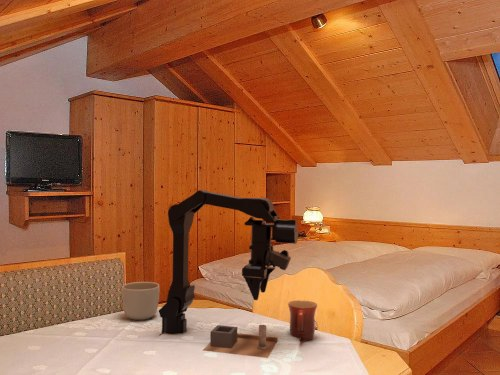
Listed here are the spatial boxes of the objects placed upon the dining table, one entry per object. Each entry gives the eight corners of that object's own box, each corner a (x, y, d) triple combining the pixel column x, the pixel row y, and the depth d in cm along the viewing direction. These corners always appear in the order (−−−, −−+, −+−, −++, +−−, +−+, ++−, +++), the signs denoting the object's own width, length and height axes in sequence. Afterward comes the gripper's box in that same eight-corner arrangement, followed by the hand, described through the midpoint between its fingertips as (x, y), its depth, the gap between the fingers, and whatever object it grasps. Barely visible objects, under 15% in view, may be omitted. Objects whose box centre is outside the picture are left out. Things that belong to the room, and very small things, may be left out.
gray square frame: (210, 346, 124) (210, 331, 124) (217, 338, 129) (217, 325, 129) (231, 348, 122) (231, 333, 122) (237, 341, 128) (237, 327, 128)
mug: (289, 332, 140) (289, 299, 140) (317, 334, 138) (318, 301, 138) (284, 345, 128) (284, 309, 128) (315, 348, 127) (315, 311, 127)
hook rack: (202, 354, 120) (202, 327, 120) (217, 338, 133) (218, 314, 133) (267, 362, 116) (268, 334, 116) (277, 345, 129) (277, 320, 128)
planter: (122, 313, 158) (122, 282, 158) (158, 311, 161) (158, 281, 161) (121, 324, 146) (121, 290, 146) (159, 321, 149) (160, 289, 149)
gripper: (283, 247, 117) (281, 307, 118) (293, 239, 135) (292, 291, 136) (242, 245, 120) (240, 303, 120) (258, 237, 138) (256, 288, 138)
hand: (259, 296), depth 129 cm, fingers open, 9 cm apart
